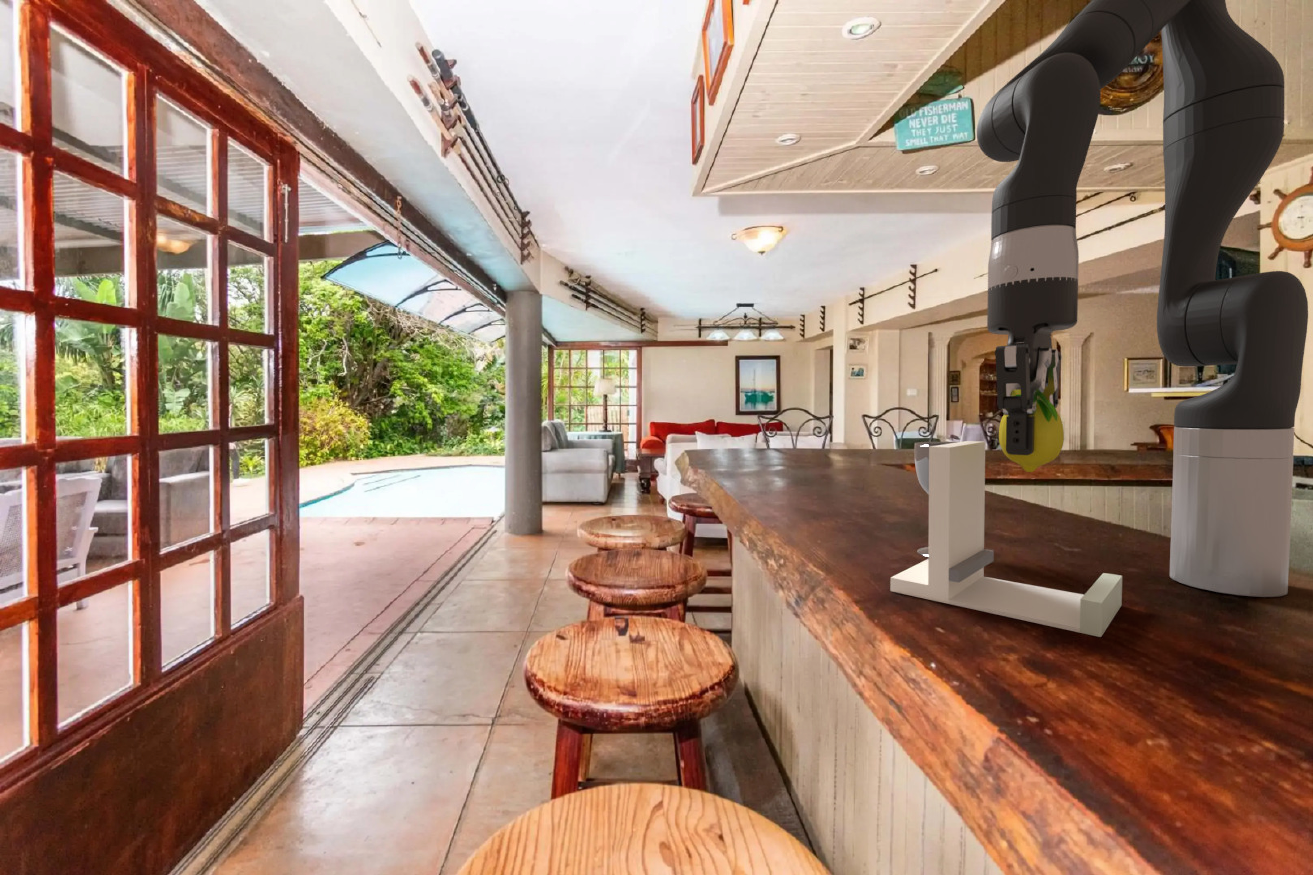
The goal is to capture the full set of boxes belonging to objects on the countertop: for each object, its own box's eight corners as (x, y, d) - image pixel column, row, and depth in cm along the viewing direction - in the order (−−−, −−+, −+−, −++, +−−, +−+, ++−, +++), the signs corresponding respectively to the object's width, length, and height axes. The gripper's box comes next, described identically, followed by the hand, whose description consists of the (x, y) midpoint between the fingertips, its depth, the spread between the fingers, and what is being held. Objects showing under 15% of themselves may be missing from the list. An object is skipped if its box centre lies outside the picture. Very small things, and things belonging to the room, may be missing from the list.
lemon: (999, 467, 63) (1001, 374, 62) (1066, 470, 59) (1068, 372, 59) (988, 473, 58) (989, 372, 57) (1059, 477, 54) (1062, 369, 53)
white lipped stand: (929, 570, 71) (930, 440, 70) (1121, 605, 58) (1125, 445, 57) (890, 590, 63) (890, 445, 63) (1100, 637, 50) (1105, 453, 49)
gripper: (1059, 263, 50) (1055, 460, 50) (1092, 286, 60) (1088, 449, 60) (965, 278, 55) (963, 455, 56) (1009, 296, 65) (1007, 447, 66)
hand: (1028, 451), depth 58 cm, fingers closed on lemon, 5 cm apart
